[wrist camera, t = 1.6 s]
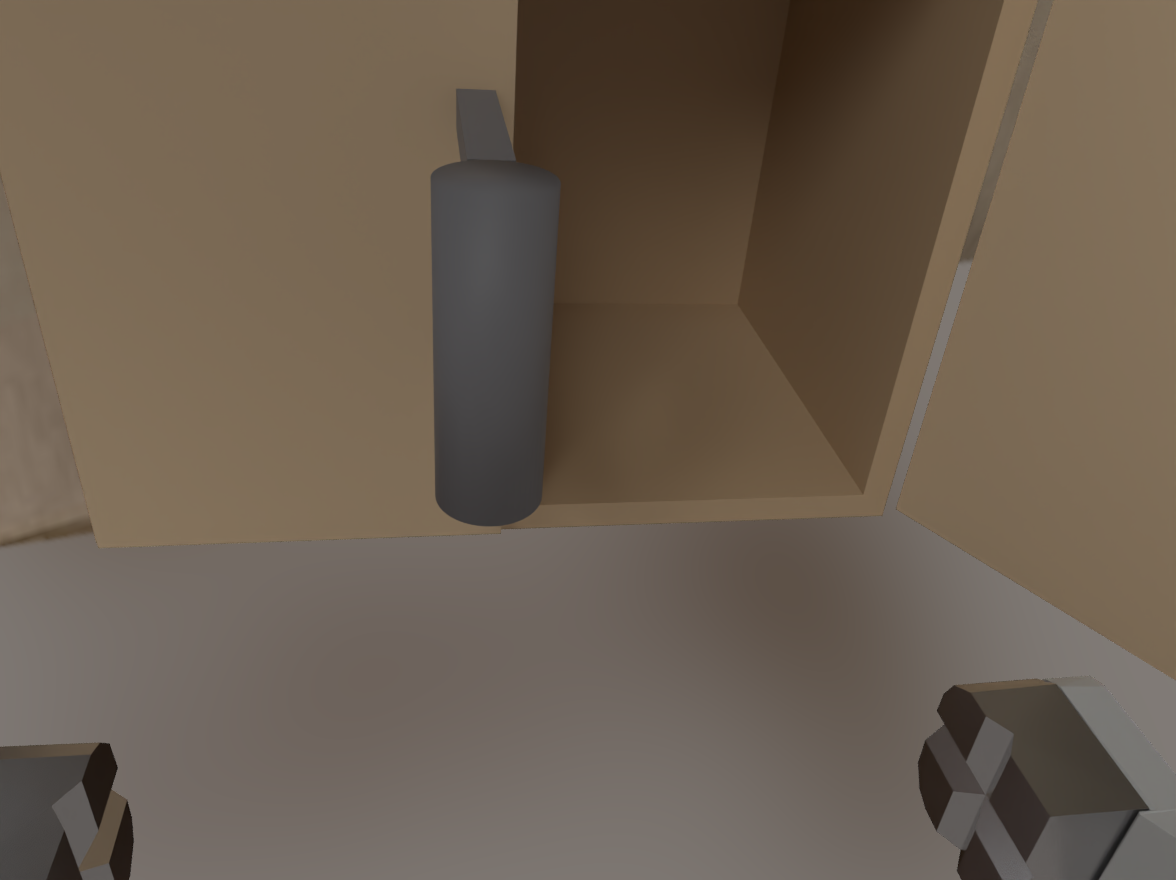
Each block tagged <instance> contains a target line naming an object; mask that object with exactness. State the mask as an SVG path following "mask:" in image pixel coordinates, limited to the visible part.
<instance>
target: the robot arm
mask: <svg viewBox="0 0 1176 880" xmlns="http://www.w3.org/2000/svg"><path fill="white" fill-rule="evenodd" d="M937 712H938V714H939V715H940V717H941V719H942V721H943V722H944V725H943V726H942V727H941V728H940V729H938V730H937V731H936V732H935V733H933V734H932V735H931V736H930V737H929V738H927V739H926V740H925V743H924V746H923V749H922V752H921V755H920V758H919V761H918V770H919V789H920V792H921V795H922V799H923V802H924V806H925V809H926V811H927V813H928V815H929V817H930V819H931V821H932V823H933V825H934V827H935V829H936V831H937V832H938V833H939V834H941V835H942V836H943V837H945V838H946V839H947V840H949V841H950V842H951V843H952V844H954V845H955V846H956V847H958V848H959V849H960V856H959V861H958V867H957V872H958V874H959V876H960V878H961V880H1176V774H1175V773H1174V772H1173V770H1172V769H1171V768H1170V767H1169V766H1168V764H1167V763H1166V762H1165V760H1164V759H1163V758H1162V757H1161V755H1160V754H1159V753H1158V752H1157V750H1156V749H1155V748H1154V747H1153V745H1152V744H1151V743H1150V742H1149V740H1148V739H1147V738H1146V737H1145V735H1144V734H1143V733H1142V732H1141V730H1140V729H1139V728H1138V727H1137V726H1136V724H1135V723H1134V722H1133V720H1132V719H1131V718H1130V717H1129V715H1128V714H1127V713H1126V712H1125V710H1124V709H1123V708H1122V707H1121V705H1120V704H1119V703H1118V702H1117V700H1116V699H1115V698H1114V697H1113V695H1112V694H1111V693H1110V692H1109V691H1108V689H1107V688H1106V687H1105V686H1104V685H1103V684H1102V683H1101V682H1099V681H1097V680H1096V679H1094V678H1093V677H1091V676H1081V677H1066V678H1051V679H1043V680H1039V679H1026V680H1014V681H1002V682H991V683H990V682H989V683H976V684H963V685H954V686H953V687H951V688H950V689H949V690H948V691H946V692H945V693H944V695H943V697H942V699H941V702H940V705H939V707H938V709H937ZM117 769H118V767H117V764H116V761H115V758H114V755H113V752H112V749H111V746H110V744H109V743H81V744H80V743H79V744H54V745H30V746H5V747H0V880H129V877H130V872H131V863H132V853H133V843H134V838H133V825H132V816H131V812H130V809H129V805H128V801H127V800H126V799H125V798H124V797H122V796H121V795H119V794H117V793H116V792H114V791H113V790H111V788H112V785H113V782H114V779H115V775H116V772H117Z"/></svg>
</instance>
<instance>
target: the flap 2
mask: <svg viewBox="0 0 1176 880" xmlns="http://www.w3.org/2000/svg"><path fill="white" fill-rule="evenodd" d="M896 510H898V511H900V512H901V513H903V514H905V515H906V516H908V517H909V518H911V519H913V520H914V521H916V522H918V523H919V524H921V525H923V526H924V527H926V528H928V529H929V530H931V531H932V532H934V533H936V534H937V535H939V536H941V537H942V538H944V539H945V540H947V541H949V542H950V543H952V544H954V545H955V546H957V547H959V548H960V549H962V550H963V551H965V552H967V553H969V554H970V555H972V556H973V557H975V558H976V559H978V560H980V561H981V562H983V563H985V564H986V565H988V566H990V567H991V568H993V569H995V570H996V571H998V572H999V573H1001V574H1003V575H1004V576H1006V577H1008V578H1009V579H1011V580H1012V581H1014V582H1016V583H1017V584H1019V585H1021V586H1022V587H1024V588H1026V589H1027V590H1029V591H1030V592H1032V593H1034V594H1035V595H1037V596H1039V597H1040V598H1042V599H1043V600H1045V601H1047V602H1048V603H1050V604H1052V605H1053V606H1055V607H1057V608H1058V609H1060V610H1061V611H1063V612H1065V613H1066V614H1068V615H1070V616H1071V617H1073V618H1075V619H1076V620H1078V621H1079V622H1081V623H1083V624H1084V625H1086V626H1088V627H1089V628H1091V629H1093V630H1094V631H1096V632H1097V633H1099V634H1101V635H1102V636H1104V637H1106V638H1107V639H1109V640H1110V641H1112V642H1114V643H1115V644H1117V645H1119V646H1121V647H1122V648H1124V649H1125V650H1127V651H1128V652H1130V653H1132V654H1133V655H1135V656H1137V657H1138V658H1140V659H1142V660H1143V661H1145V662H1146V663H1148V664H1150V665H1151V666H1153V667H1155V668H1156V669H1158V670H1160V671H1161V672H1163V673H1165V674H1166V675H1168V676H1169V677H1171V678H1173V679H1174V680H1176V0H1054V1H1053V4H1052V8H1051V11H1050V14H1049V17H1048V21H1047V24H1046V27H1045V30H1044V33H1043V37H1042V40H1041V43H1040V46H1039V49H1038V53H1037V56H1036V59H1035V62H1034V66H1033V69H1032V72H1031V75H1030V78H1029V82H1028V85H1027V88H1026V91H1025V95H1024V98H1023V101H1022V104H1021V107H1020V111H1019V114H1018V117H1017V120H1016V124H1015V127H1014V130H1013V133H1012V136H1011V140H1010V143H1009V146H1008V149H1007V152H1006V156H1005V159H1004V162H1003V165H1002V169H1001V172H1000V175H999V178H998V181H997V185H996V188H995V191H994V194H993V198H992V201H991V204H990V207H989V210H988V214H987V217H986V220H985V223H984V227H983V230H982V233H981V236H980V239H979V243H978V246H977V249H976V252H975V256H974V259H973V262H972V265H971V268H970V272H969V275H968V278H967V281H966V284H965V288H964V291H963V294H962V297H961V301H960V304H959V307H958V310H957V314H956V317H955V320H954V323H953V327H952V330H951V333H950V336H949V339H948V343H947V346H946V349H945V352H944V355H943V359H942V362H941V365H940V368H939V371H938V375H937V378H936V381H935V384H934V387H933V391H932V394H931V397H930V400H929V404H928V407H927V410H926V413H925V417H924V420H923V423H922V426H921V429H920V433H919V436H918V439H917V442H916V446H915V449H914V452H913V455H912V458H911V462H910V465H909V469H908V471H907V474H906V478H905V481H904V484H903V487H902V491H901V494H900V497H899V501H898V503H897V507H896Z"/></svg>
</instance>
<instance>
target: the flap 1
mask: <svg viewBox="0 0 1176 880" xmlns="http://www.w3.org/2000/svg"><path fill="white" fill-rule="evenodd" d="M517 13H518V0H0V171H1V175H2V179H3V183H4V187H5V191H6V195H7V198H8V202H9V206H10V210H11V214H12V218H13V222H14V225H15V229H16V233H17V237H18V241H19V245H20V248H21V252H22V256H23V260H24V264H25V268H26V272H27V275H28V279H29V283H30V287H31V291H32V295H33V299H34V302H35V306H36V310H37V314H38V318H39V322H40V325H41V329H42V333H43V337H44V341H45V345H46V349H47V352H48V356H49V360H50V364H51V368H52V372H53V375H54V379H55V383H56V387H57V391H58V395H59V399H60V402H61V406H62V410H63V414H64V418H65V422H66V426H67V429H68V433H69V437H70V441H71V445H72V449H73V452H74V456H75V460H76V464H77V468H78V472H79V476H80V479H81V483H82V487H83V491H84V495H85V499H86V503H87V506H88V510H89V514H90V518H91V522H92V526H93V529H94V533H95V537H96V541H97V545H98V548H116V547H142V546H143V547H145V546H172V545H197V544H198V545H200V544H226V543H227V544H228V543H256V542H282V541H311V540H337V539H338V540H339V539H363V538H364V539H366V538H393V537H422V536H450V535H477V534H501V526H503V525H508V524H512V523H515V522H518V521H521V520H523V519H525V518H527V517H528V516H530V515H531V514H532V513H533V512H535V510H536V509H537V508H538V507H539V505H540V503H541V500H542V488H543V471H544V455H545V438H546V422H547V405H548V388H549V372H550V355H551V339H552V322H553V305H554V289H555V272H556V256H557V239H558V222H559V206H560V189H561V182H560V180H559V178H558V177H557V176H556V175H555V174H553V173H551V172H550V171H548V170H545V169H543V168H540V167H537V166H533V165H529V164H525V163H519V162H516V158H515V154H514V151H513V137H514V106H515V75H516V44H517Z"/></svg>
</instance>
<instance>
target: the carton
mask: <svg viewBox="0 0 1176 880" xmlns="http://www.w3.org/2000/svg"><path fill="white" fill-rule="evenodd" d="M1037 2H1038V0H518V13H517V44H516V75H515V106H514V137H513V151H514V154H515V158H516V162H519V163H525V164H529V165H533V166H537V167H540V168H543V169H545V170H548V171H550V172H551V173H553V174H555V175H556V176H557V177H558V178H559V180H560V182H561V189H560V206H559V222H558V239H557V256H556V272H555V289H554V305H553V322H552V339H551V355H550V372H549V388H548V405H547V422H546V438H545V455H544V471H543V488H542V500H541V503H540V505H539V507H538V508H537V509H536V510H535V512H533V513H532V514H531V515H530V516H528V517H527V518H525V519H523V520H521V521H518V522H515V523H512V524H508V525H503V526H501V529H521V528H550V527H577V526H604V525H634V524H662V523H692V522H720V521H748V520H776V519H804V518H833V517H862V516H882V515H883V511H884V508H885V505H886V501H887V498H888V495H889V491H890V488H891V485H892V482H893V478H894V475H895V472H896V468H897V465H898V461H899V458H900V455H901V452H902V449H903V445H904V442H905V438H906V435H907V432H908V429H909V425H910V422H911V419H912V415H913V412H914V409H915V405H916V402H917V399H918V396H919V392H920V389H921V386H922V382H923V379H924V375H925V372H926V369H927V366H928V363H929V359H930V356H931V353H932V349H933V346H934V343H935V339H936V336H937V332H938V330H939V326H940V323H941V320H942V316H943V313H944V310H945V306H946V303H947V300H948V296H949V293H950V290H951V287H952V283H953V280H954V277H955V273H956V270H957V267H958V263H959V260H960V257H961V253H962V250H963V247H964V244H965V240H966V237H967V234H968V230H969V227H970V224H971V220H972V217H973V214H974V210H975V207H976V204H977V201H978V197H979V194H980V191H981V187H982V184H983V181H984V177H985V174H986V171H987V168H988V164H989V161H990V158H991V154H992V151H993V148H994V144H995V141H996V138H997V134H998V131H999V128H1000V125H1001V121H1002V118H1003V115H1004V111H1005V108H1006V105H1007V101H1008V98H1009V95H1010V91H1011V88H1012V85H1013V82H1014V78H1015V75H1016V72H1017V68H1018V65H1019V62H1020V58H1021V55H1022V52H1023V48H1024V45H1025V42H1026V39H1027V35H1028V32H1029V29H1030V25H1031V22H1032V19H1033V15H1034V12H1035V9H1036V6H1037ZM0 175H1V171H0ZM1 179H2V175H1ZM2 182H3V179H2ZM3 186H4V183H3ZM4 190H5V187H4ZM5 194H6V191H5ZM6 198H7V195H6ZM7 202H8V198H7ZM8 205H9V202H8ZM9 209H10V206H9ZM10 213H11V210H10ZM11 217H12V214H11ZM12 221H13V218H12ZM13 225H14V222H13ZM14 228H15V225H14ZM15 232H16V229H15ZM16 236H17V233H16ZM17 240H18V237H17ZM18 244H19V241H18ZM19 248H20V245H19ZM20 252H21V248H20ZM21 255H22V252H21ZM22 259H23V256H22ZM23 263H24V260H23ZM24 267H25V264H24ZM25 271H26V268H25ZM26 275H27V272H26ZM27 278H28V275H27ZM28 282H29V279H28ZM29 286H30V283H29ZM30 290H31V287H30ZM31 294H32V291H31ZM32 298H33V295H32ZM33 301H34V299H33ZM34 305H35V302H34ZM35 309H36V306H35ZM36 313H37V310H36ZM37 317H38V314H37ZM38 321H39V318H38ZM39 325H40V322H39ZM40 328H41V325H40ZM41 332H42V329H41ZM42 336H43V333H42ZM43 340H44V337H43ZM44 344H45V341H44ZM45 348H46V345H45ZM46 351H47V349H46ZM47 355H48V352H47ZM48 359H49V356H48ZM49 363H50V360H49ZM50 367H51V364H50ZM51 371H52V368H51ZM52 374H53V372H52ZM53 378H54V375H53ZM54 382H55V379H54ZM55 386H56V383H55ZM56 390H57V387H56ZM57 394H58V391H57ZM58 398H59V395H58ZM59 401H60V399H59ZM60 405H61V402H60ZM61 409H62V406H61ZM62 413H63V410H62ZM63 417H64V414H63ZM64 421H65V418H64ZM65 424H66V422H65ZM66 428H67V426H66ZM67 432H68V429H67ZM68 436H69V433H68ZM69 440H70V437H69ZM70 444H71V441H70ZM71 447H72V445H71ZM72 451H73V449H72ZM73 455H74V452H73ZM74 459H75V456H74ZM75 463H76V460H75ZM76 467H77V464H76ZM77 471H78V468H77ZM78 474H79V472H78ZM79 478H80V476H79ZM80 482H81V479H80ZM81 486H82V483H81ZM82 490H83V487H82ZM83 494H84V491H83ZM84 497H85V495H84ZM85 501H86V499H85ZM86 505H87V503H86ZM87 509H88V506H87ZM88 513H89V510H88ZM89 517H90V514H89ZM90 520H91V518H90ZM91 524H92V522H91ZM92 528H93V526H92ZM93 532H94V529H93ZM94 536H95V533H94ZM95 540H96V537H95ZM96 543H97V541H96Z"/></svg>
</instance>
